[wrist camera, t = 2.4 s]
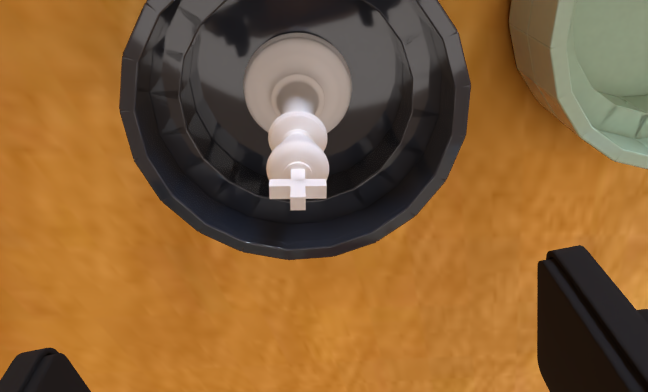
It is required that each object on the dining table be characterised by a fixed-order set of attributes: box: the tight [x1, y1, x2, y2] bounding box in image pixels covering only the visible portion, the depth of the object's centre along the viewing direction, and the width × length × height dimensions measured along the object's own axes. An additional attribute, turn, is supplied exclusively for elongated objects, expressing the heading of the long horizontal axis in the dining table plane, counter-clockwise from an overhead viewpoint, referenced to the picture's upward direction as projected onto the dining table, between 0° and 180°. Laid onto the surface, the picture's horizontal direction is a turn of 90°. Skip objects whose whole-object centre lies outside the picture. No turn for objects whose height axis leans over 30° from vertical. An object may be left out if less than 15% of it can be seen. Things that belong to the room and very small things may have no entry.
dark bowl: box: [119, 0, 471, 260], centre depth 21 cm, size 13×13×4 cm
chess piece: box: [243, 33, 352, 210], centre depth 18 cm, size 5×5×10 cm
